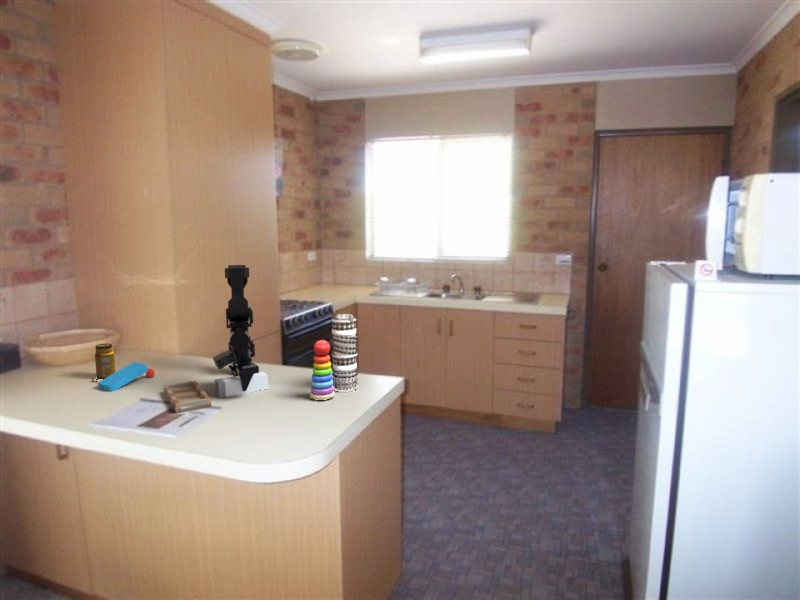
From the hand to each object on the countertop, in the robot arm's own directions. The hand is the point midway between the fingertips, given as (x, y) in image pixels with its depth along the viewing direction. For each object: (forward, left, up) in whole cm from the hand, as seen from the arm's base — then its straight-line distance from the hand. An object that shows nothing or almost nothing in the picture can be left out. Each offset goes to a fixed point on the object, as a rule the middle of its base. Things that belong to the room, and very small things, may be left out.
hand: (242, 388), depth 180 cm
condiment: (+37, -41, -1) cm, 55 cm away
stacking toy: (-20, +19, -1) cm, 28 cm away
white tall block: (0, 0, -1) cm, 1 cm away
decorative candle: (-30, +15, -1) cm, 34 cm away
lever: (+30, -30, -2) cm, 43 cm away
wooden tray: (+17, -2, -1) cm, 17 cm away
